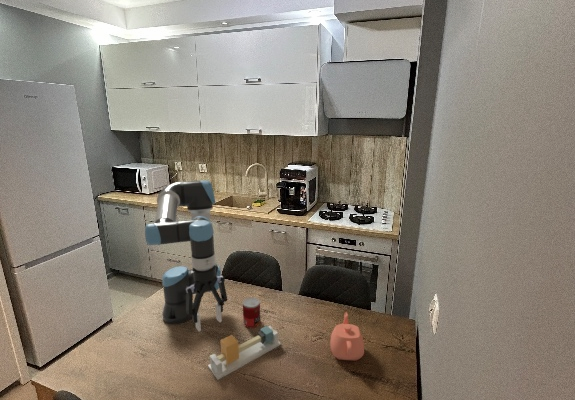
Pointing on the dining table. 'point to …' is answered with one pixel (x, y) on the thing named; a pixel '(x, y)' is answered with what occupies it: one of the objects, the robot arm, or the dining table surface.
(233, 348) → the orange slider block
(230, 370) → the linear slide rail
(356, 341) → the teapot
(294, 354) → the dining table surface
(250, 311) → the canned food
